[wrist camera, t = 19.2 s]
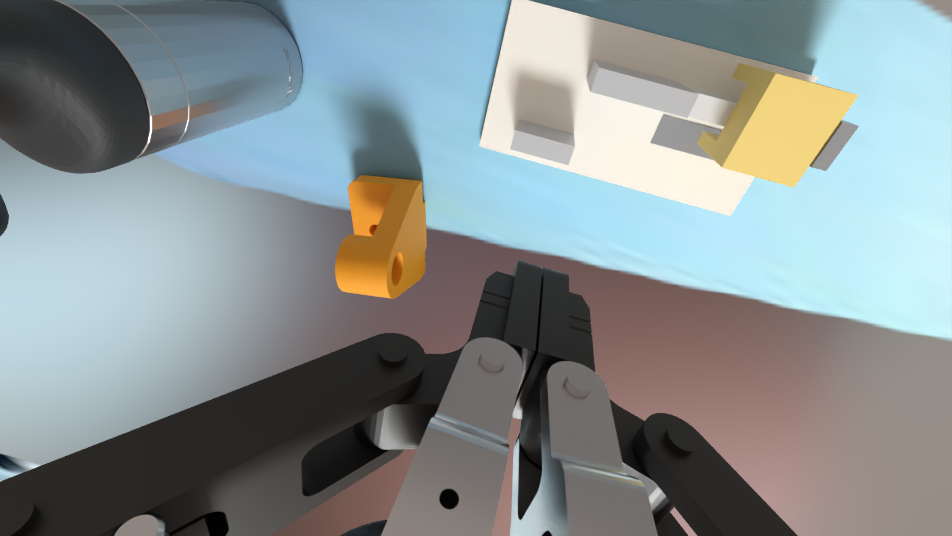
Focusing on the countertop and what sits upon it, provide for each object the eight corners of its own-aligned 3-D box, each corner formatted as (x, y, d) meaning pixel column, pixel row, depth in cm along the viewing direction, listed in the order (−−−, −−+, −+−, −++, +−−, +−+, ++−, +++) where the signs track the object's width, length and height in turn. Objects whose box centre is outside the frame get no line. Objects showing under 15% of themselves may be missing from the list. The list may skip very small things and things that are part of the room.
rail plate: (480, 143, 39) (462, 172, 32) (514, -4, 33) (500, -8, 26) (726, 211, 38) (763, 256, 31) (811, 75, 32) (882, 93, 25)
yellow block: (696, 143, 33) (721, 167, 28) (739, 62, 30) (776, 73, 25) (757, 159, 33) (793, 187, 28) (806, 80, 30) (858, 95, 24)
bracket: (358, 171, 43) (296, 219, 33) (424, 178, 42) (381, 229, 32) (368, 258, 49) (318, 322, 39) (427, 266, 48) (391, 333, 38)
